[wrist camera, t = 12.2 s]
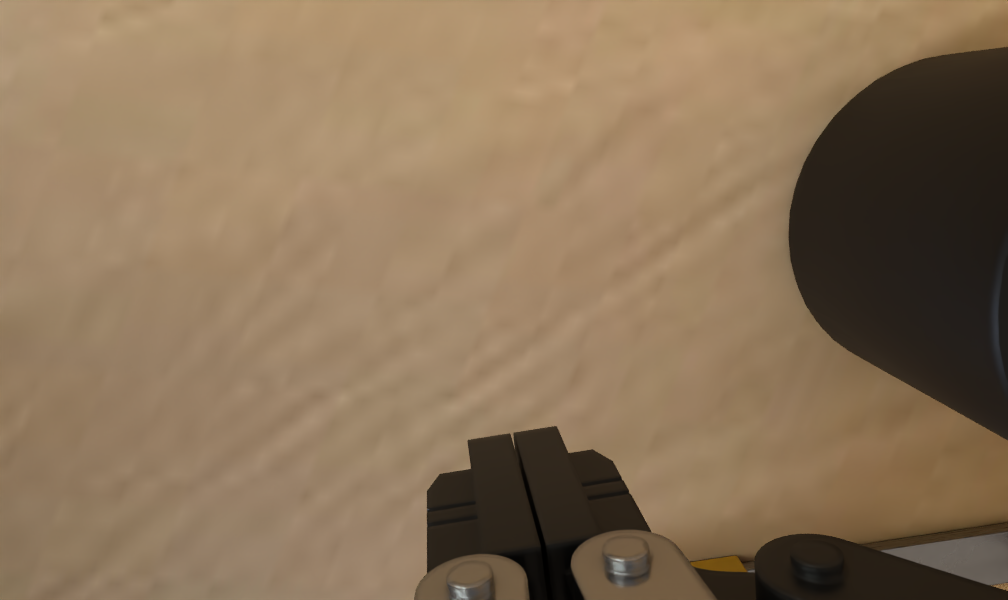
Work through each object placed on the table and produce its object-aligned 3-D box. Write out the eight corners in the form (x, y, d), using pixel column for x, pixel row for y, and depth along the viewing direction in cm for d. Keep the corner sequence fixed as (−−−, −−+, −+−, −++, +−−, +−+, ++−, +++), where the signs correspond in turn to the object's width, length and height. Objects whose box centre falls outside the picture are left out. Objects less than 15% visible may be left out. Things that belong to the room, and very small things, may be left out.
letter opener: (520, 656, 26) (526, 695, 24) (512, 587, 25) (518, 623, 23) (1088, 568, 27) (1133, 600, 25) (1093, 501, 26) (1141, 528, 24)
